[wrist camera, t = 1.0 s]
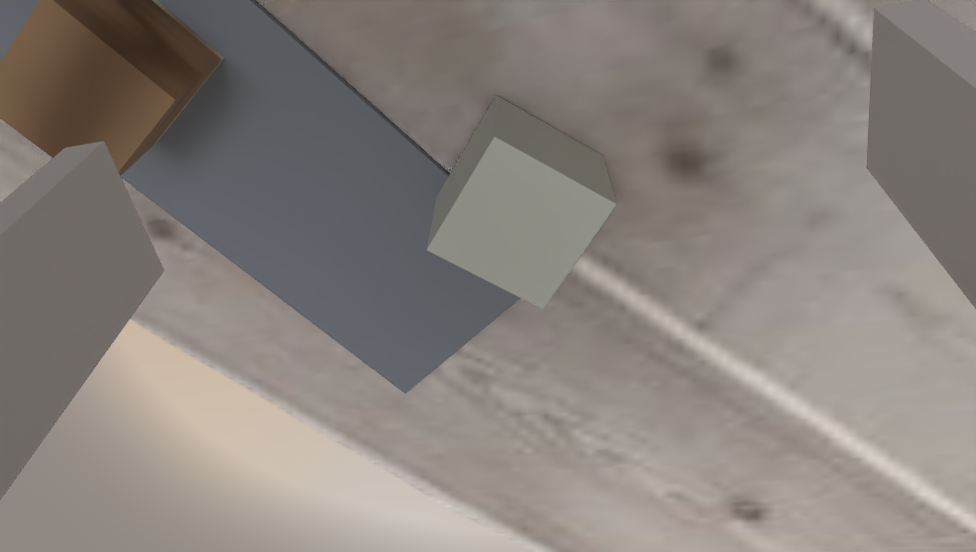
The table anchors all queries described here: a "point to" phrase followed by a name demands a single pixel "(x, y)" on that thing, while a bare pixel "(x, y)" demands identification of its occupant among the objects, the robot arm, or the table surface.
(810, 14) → the table surface
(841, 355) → the table surface
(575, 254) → the grey cube
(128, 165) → the walnut cube
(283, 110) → the mat
